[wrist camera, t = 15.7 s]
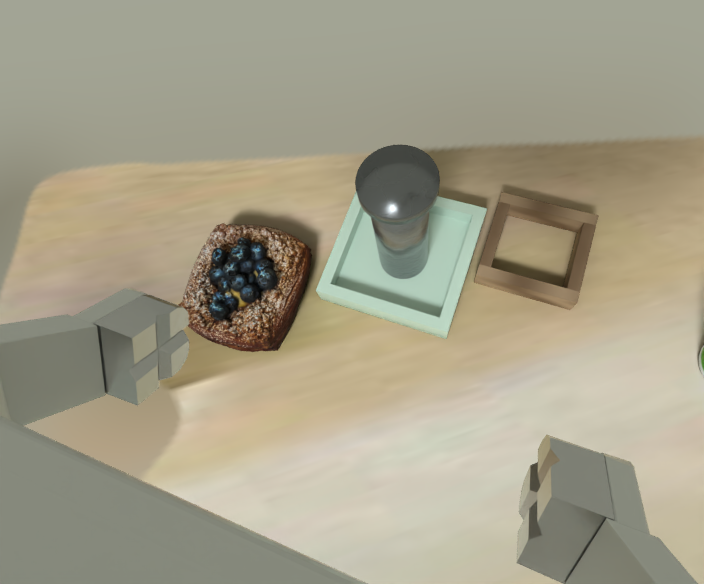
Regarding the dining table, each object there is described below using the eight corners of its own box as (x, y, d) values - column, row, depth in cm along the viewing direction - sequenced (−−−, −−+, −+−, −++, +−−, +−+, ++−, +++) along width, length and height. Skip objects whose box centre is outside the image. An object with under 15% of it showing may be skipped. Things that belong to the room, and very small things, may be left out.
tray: (483, 220, 45) (487, 208, 43) (446, 339, 42) (447, 332, 40) (364, 190, 48) (361, 177, 46) (321, 299, 45) (315, 290, 43)
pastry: (179, 335, 46) (146, 318, 40) (224, 224, 49) (199, 195, 44) (284, 365, 43) (265, 352, 38) (324, 247, 47) (311, 219, 41)
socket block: (590, 225, 44) (598, 215, 42) (569, 309, 41) (577, 302, 40) (498, 203, 46) (501, 192, 44) (473, 282, 43) (476, 274, 41)
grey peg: (442, 238, 44) (450, 155, 32) (423, 293, 43) (424, 227, 31) (384, 222, 46) (371, 137, 33) (364, 275, 44) (343, 205, 32)
